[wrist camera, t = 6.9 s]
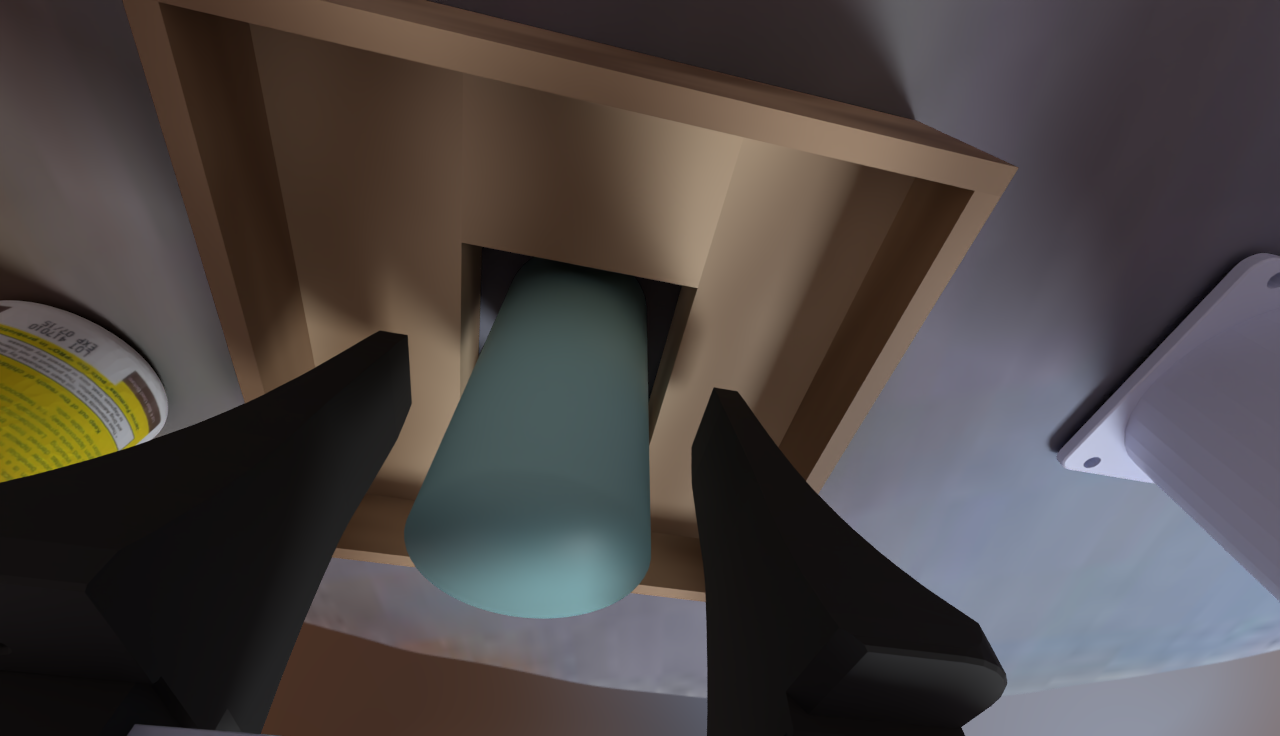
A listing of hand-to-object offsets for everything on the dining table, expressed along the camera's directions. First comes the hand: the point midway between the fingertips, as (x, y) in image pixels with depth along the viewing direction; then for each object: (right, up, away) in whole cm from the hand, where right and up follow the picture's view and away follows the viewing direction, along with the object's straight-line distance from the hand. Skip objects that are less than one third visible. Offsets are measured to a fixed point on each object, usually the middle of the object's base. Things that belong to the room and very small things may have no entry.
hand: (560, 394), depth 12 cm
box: (0, +2, +3) cm, 3 cm away
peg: (0, +2, +3) cm, 3 cm away
